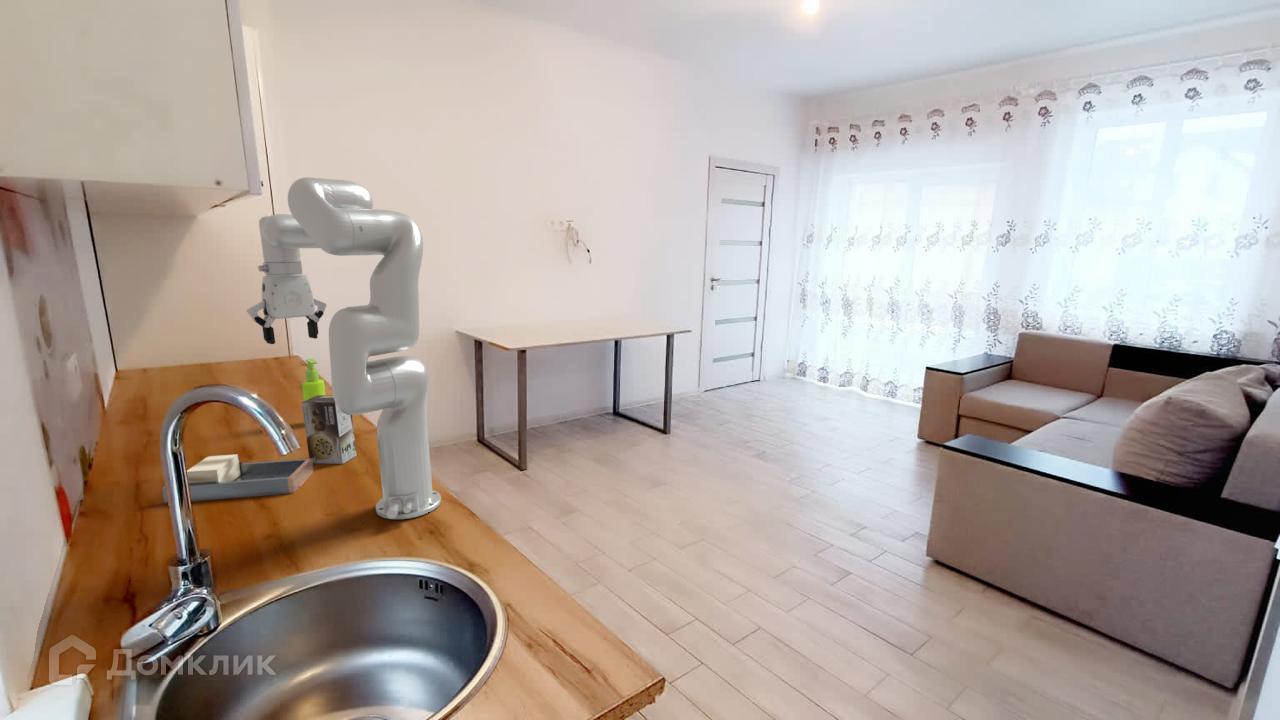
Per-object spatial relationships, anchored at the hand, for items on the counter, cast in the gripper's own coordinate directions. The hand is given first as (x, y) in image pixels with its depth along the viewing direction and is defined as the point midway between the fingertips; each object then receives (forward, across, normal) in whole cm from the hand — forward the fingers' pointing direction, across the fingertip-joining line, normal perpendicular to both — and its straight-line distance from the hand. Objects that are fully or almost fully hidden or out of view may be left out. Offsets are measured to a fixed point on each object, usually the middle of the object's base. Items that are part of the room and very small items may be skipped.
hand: (292, 340), depth 138 cm
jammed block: (+29, -20, -2) cm, 36 cm away
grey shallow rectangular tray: (+31, -17, -6) cm, 35 cm away
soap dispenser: (+31, +16, +28) cm, 45 cm away
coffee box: (+31, +4, -6) cm, 32 cm away
